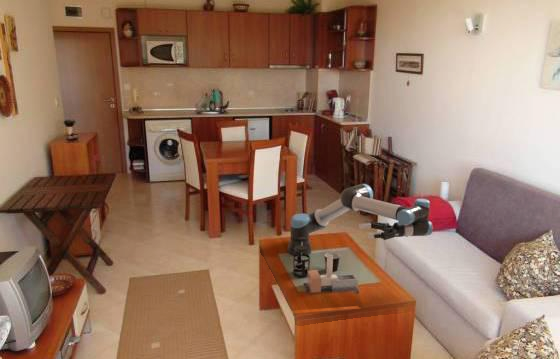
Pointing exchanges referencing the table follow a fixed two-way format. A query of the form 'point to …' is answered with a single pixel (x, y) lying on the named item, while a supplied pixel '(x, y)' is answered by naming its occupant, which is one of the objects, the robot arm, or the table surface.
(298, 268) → the french press
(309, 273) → the socket block
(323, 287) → the slotted sleeve
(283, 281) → the table surface
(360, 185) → the robot arm
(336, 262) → the coffee mug
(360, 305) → the table surface
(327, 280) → the bar
